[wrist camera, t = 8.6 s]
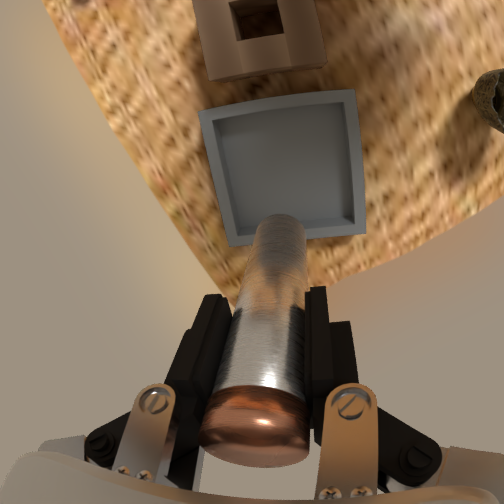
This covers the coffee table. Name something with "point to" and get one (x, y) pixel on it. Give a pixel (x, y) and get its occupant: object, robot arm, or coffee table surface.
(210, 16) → the hitch block
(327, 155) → the tray
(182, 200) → the coffee table surface
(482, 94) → the cup
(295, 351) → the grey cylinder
